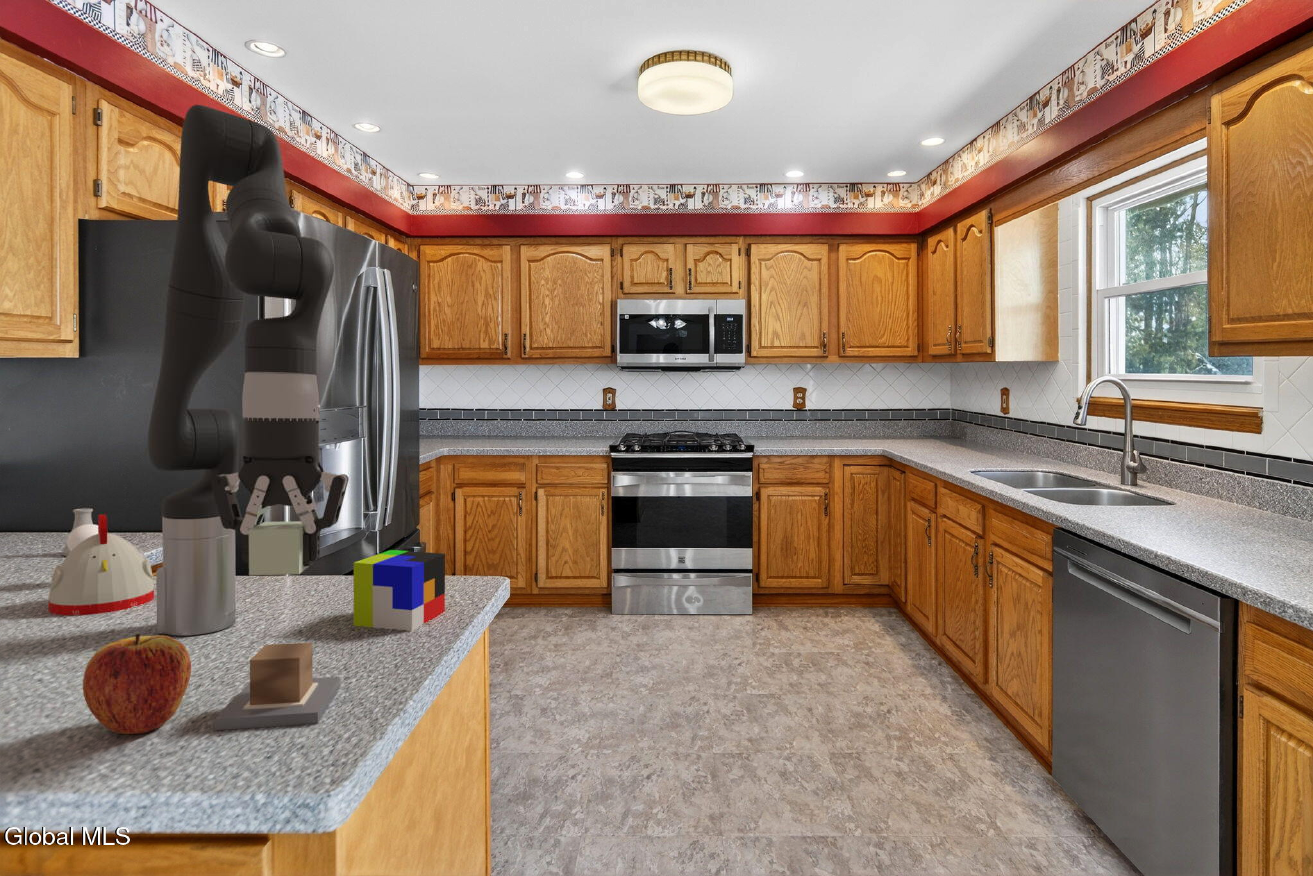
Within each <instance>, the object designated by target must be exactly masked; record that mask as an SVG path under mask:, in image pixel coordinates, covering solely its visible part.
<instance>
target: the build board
mask: <svg viewBox="0 0 1313 876" xmlns="http://www.w3.org/2000/svg"><path fill="white" fill-rule="evenodd" d="M340 687H341V676H331V677H312V686H311V687H310V689H309V690H308V691H307V693H306V694H305V695H304V697H303V698H302V700H301V701H300V702H295V703H279V704H263V705H250V682H248V683H247V685H246V686H245V687H244V688H243V689H242V690H241V691H240V692H239V693H238V694H237V695H236V696H235V697H234V698H233V699H232V701H231V702H229V703H228V705H227V706H225V708H224V709H223V710H221V712H220V713H219V714H218V715H217V717H216V718H214V731H222V730H223V731H224V730H225V731H226V730H239V729H240V730H241V729H252V728H268V727H281V726H282V727H284V726H296V725H299V726H300V725H312V724H319V722H320V721H321V719H322V718H323V716H324V714H325V712H326V711H327V709H328V707H329V706H330V704H331V702H332V701H333V699H334V698H335V696H336V694H337V692H338V691H339V690H340Z"/></svg>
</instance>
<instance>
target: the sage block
mask: <svg viewBox="0 0 1313 876" xmlns="http://www.w3.org/2000/svg"><path fill="white" fill-rule="evenodd" d="M303 534H305V530H304V527H303V525H302V522H301V520H300V521H299V520H298V521H264V522H262V523H261V524H260V525H258V526H255V527H253V528H251V529H249V567H248V576H274V575H275V576H277V575H279V576H280V575H300V574H301V573H303V572H304V571H305V570H306V569H308V568H309V567H310V566H306V567H304V566H303Z"/></svg>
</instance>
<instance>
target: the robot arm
mask: <svg viewBox="0 0 1313 876" xmlns="http://www.w3.org/2000/svg"><path fill="white" fill-rule="evenodd" d="M181 130H182V131H181V137H180V149H179V150H180V152H179V153H180V154H179V172H178V173H179V174H178V175H179V178H178V179H179V180H178V200H177V201H178V202H177V203H178V204H177V218H176V230H175V237H174V243H173V244H174V245H173V251H172V259H171V266H170V270H169V271H170V273H169V277H168V278H169V279H168V285H167V296H166V305H165V318H164V319H165V320H164V334H163V344H162V355H161V361H160V363H161V364H160V369H159V375H158V379H157V385H156V391H155V394H154V400H153V405H152V409H151V414H150V420H149V425H148V432H147V452H148V457H149V460H150V463H151V464H152V466H153V467H154V468H156V469H158V470H160V471H162V472H163V471H167V472H168V471H169V472H179V471H194V470H195V471H199V470H200V471H201V470H203V474H202V476H201V477H200V478H199V479H198V480H197V481H196V482H194V484H192V485H190V486H188V487H186V488H184V489H182V490H179V491H176V492H174V493H172V494H169V495H166V496H165V498H163V500H162V502H161V516H162V517H161V518H162V519H161V521H162V527H161V528H162V566H161V567H159V568H157V569H156V575H155V576H156V584H155V585H156V588H155V589H156V633H157V634H167V635H172V636H193V635H203V634H209V633H213V632H214V633H215V632H218V631H221V630H225V629H227V628H229V627H232V626H233V625H235V623H236V614H237V606H236V604H237V603H236V593H237V592H236V532H238V533H239V534H240V535H241V553H242V554H241V559H242V562H243V563H246V564H247V567H248V568H249V529H251V528H253V527H255V526H258V525H260V524H262V523H263V520H264V518H265V515H266V513H267V512H268V510H269V508H270V507H273V506H277V505H282V506H286V507H293V509H294V511H295V513H296V515H297V516H298V517H299V519H300V521H301V522H302V525H303V527H304V530H305V534H303V566H304V567H306V566H309V567H312V566H313V565H314V563H315V562H316V561H317V560H319V558H320V555H321V531H322V530H325V529H328V528H331V527H333V526H334V525H335V524H337V523H338V522H339V518H340V514H341V511H342V507H343V504H344V503H343V502H344V499H345V495H346V491H347V487H348V483H349V479H350V478H349V476H348V475H347V474H345V473H341V474H340V473H339V474H336V473H332V472H327V471H324V469H323V467H322V464H321V463H320V413H321V411H320V410H321V405H320V395H319V387H318V381H317V342H318V341H317V340H318V339H317V338H318V334H319V327H320V322H321V318H322V315H323V309H324V308H325V303H326V301H327V298H328V294H329V292H330V289H331V286H332V283H333V278H334V273H335V265H334V264H335V263H334V260H333V256H332V254H331V252H330V250H329V249H328V248H327V246H326V245H325V244H324V243H323V242H322V241H320V240H318V239H315V238H312V237H305V236H302V232H301V228H300V226H299V223H298V220H297V218H296V215H295V214H294V211H293V209H292V207H291V205H290V203H289V201H288V196H287V188H286V182H285V179H286V178H285V171H284V166H283V164H284V163H283V158H282V152H281V151H282V150H281V147H280V143H279V141H278V138H277V137H276V135H275V134H274V132H273V131H272V130H271V129H270V128H269V127H267V126H265V125H264V124H262V123H258V122H256V121H254V120H251V119H247V118H244V117H242V116H238V115H235V114H232V113H229V112H226V111H222V110H219V109H217V108H216V109H215V108H212V107H209V106H206V105H203V104H202V105H201V104H193V105H192V106H191V107H189V108H188V110H187V111H186V114H185V115H184V119H183V124H182V129H181ZM210 182H213V183H217V184H222V185H225V186H229V187H231V189H230V190H229V192H228V194H227V197H226V199H225V200H226V201H225V210H226V211H225V213H226V217H227V219H228V223H229V225H230V229H231V232H232V234H231V235H230V237H229V240H228V243H227V242H226V240H225V238H224V236H223V233H222V232H221V230H220V227H219V225H218V223H217V221H216V217H215V215H214V212H213V208H212V205H211V201H210V193H209V192H210V191H209V190H210V189H209V185H210V184H209V183H210ZM247 295H251V296H256V297H267V298H275V299H276V298H277V299H285V300H294V301H295V306H294V308H293V310H292V312H290V314H288V315H284V316H276V317H267V318H265V317H264V318H260V319H259V318H258V319H254V320H252V321H250V322H248V323H247V325H246V327H245V330H244V372H245V373H244V379H243V386H242V394H241V395H242V396H241V398H242V399H241V400H242V402H241V403H242V404H241V405H242V410H241V411H242V412H241V413H242V417H241V418H242V423H241V424H242V427H241V428H242V464H241V466H240V467H239V453H240V432H239V431H240V430H239V425H238V422H237V419H236V417H235V416H234V414H233V413H232V412H231V411H230V410H227V409H223V408H222V409H221V408H189V404H190V401H191V398H192V395H193V392H194V390H195V388H196V386H197V385H198V382H199V381H200V379H201V378H202V376H203V375H204V374H205V373H206V372H207V371H208V369H209V368H210V367H211V366H212V365H213V364H214V363H215V362H216V361H217V360H218V359H219V357H221V356H222V354H223V353H224V352H225V351H226V350H227V349H228V348H229V347H230V346H231V344H232V343H233V342H235V339H236V338H237V336H238V335H239V333H240V331H241V328H242V326H243V325H242V324H243V318H244V313H245V312H244V311H245V303H246V296H247ZM240 482H241V483H242V484H243V487H245V488H246V490H247V491H248V492H249V493H250V494H251V496H250V499H249V502H248V504H247V507H246V509H245V515H244V517H242V513H241V509H240V505H239V501H238V497H237V496H238V495H237V493H238V490H239V488H240V487H239V485H240ZM321 482H322V483H323V484H324V486H323V487H324V491H325V492H326V493H328V496H327V500H326V504H325V507H324V511H323V516H322V517H320V516H319V513H318V512H317V506H316V502H315V500H314V498H313V495H312V492H313V491H314V490H315V489H316V487H317V486H318V485H319V483H321Z"/></svg>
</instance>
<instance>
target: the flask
mask: <svg viewBox="0 0 1313 876" xmlns="http://www.w3.org/2000/svg"><path fill="white" fill-rule="evenodd" d="M93 510H94V509H93V508H76V509H73V510H72V512H73V513H74V521H73V527H72V529H71V531H70V533H71V532H72V531H73V530H74V529H75V528H77V527H79V526H82V525H86V524H94V523H93V519H92V512H94V511H93ZM70 552H71V551H70V550H69V548H68V546H67V542H65V545H64V547H63V549H62V551H61V554H60V556H64V557H67V556H68V554H69V553H70Z"/></svg>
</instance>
